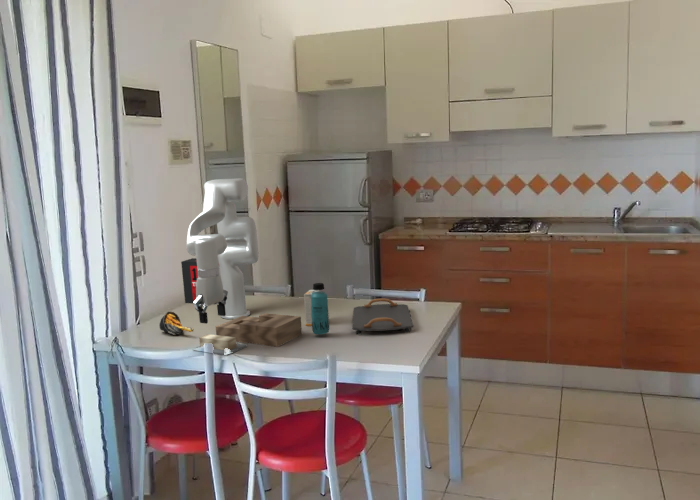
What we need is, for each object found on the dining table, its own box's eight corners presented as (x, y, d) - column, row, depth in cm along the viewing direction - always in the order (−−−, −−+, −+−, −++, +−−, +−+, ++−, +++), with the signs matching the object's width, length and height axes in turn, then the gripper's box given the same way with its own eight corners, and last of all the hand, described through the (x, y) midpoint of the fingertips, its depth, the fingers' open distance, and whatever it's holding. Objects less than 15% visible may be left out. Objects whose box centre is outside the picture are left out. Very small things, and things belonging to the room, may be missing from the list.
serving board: (353, 311, 279) (353, 297, 278) (408, 309, 278) (407, 295, 277) (352, 338, 241) (351, 322, 240) (414, 335, 240) (414, 319, 239)
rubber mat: (192, 350, 234) (192, 349, 234) (212, 342, 244) (212, 340, 244) (227, 355, 226) (226, 354, 226) (246, 346, 236) (246, 344, 236)
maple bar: (200, 346, 236) (199, 337, 236) (208, 343, 240) (207, 334, 240) (228, 350, 230) (227, 341, 230) (236, 346, 234) (235, 337, 234)
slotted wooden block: (216, 339, 247) (215, 321, 246) (243, 327, 261) (241, 310, 260) (277, 346, 234) (276, 327, 232) (301, 334, 247) (300, 316, 246)
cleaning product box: (185, 303, 311) (181, 261, 308) (196, 298, 319) (192, 258, 316) (214, 304, 305) (211, 262, 302) (225, 299, 313) (221, 258, 310)
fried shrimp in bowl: (170, 316, 267) (202, 305, 258) (171, 343, 263) (203, 332, 255) (152, 313, 260) (184, 301, 251) (153, 340, 256) (186, 329, 247)
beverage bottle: (312, 334, 247) (308, 282, 244) (329, 332, 248) (326, 281, 245) (312, 338, 241) (309, 285, 238) (330, 337, 241) (327, 284, 238)
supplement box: (317, 326, 258) (315, 293, 256) (305, 326, 259) (303, 293, 257) (322, 320, 266) (320, 289, 264) (310, 320, 267) (308, 289, 265)
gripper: (216, 267, 241) (220, 311, 244) (183, 277, 226) (188, 325, 229) (232, 268, 237) (236, 313, 241) (200, 278, 223) (204, 327, 226)
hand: (213, 319), depth 235 cm, fingers open, 9 cm apart
